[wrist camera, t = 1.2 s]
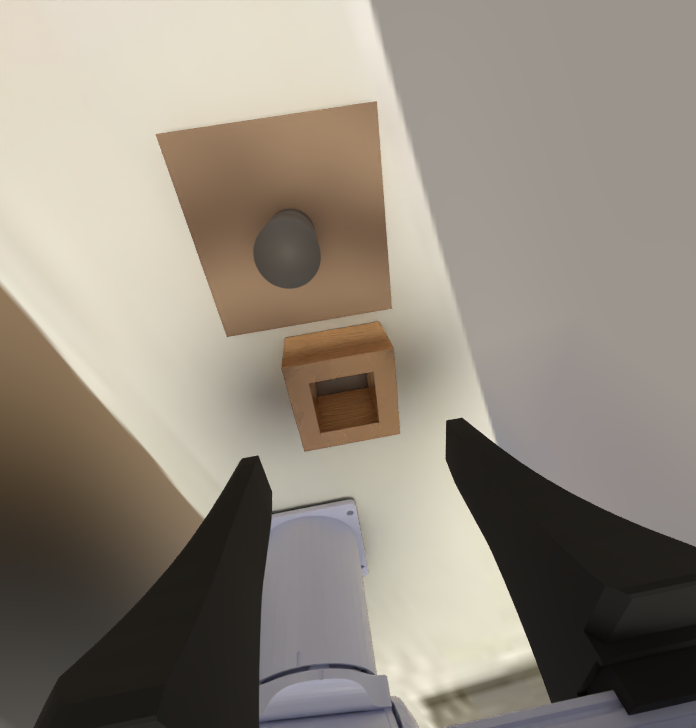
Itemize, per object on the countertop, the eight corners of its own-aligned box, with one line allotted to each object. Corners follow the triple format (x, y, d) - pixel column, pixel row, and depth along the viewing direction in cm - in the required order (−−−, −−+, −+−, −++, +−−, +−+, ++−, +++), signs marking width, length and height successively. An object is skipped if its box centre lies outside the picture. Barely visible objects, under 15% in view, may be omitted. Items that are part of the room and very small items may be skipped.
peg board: (387, 301, 17) (420, 349, 12) (231, 328, 17) (201, 388, 12) (371, 106, 13) (412, 62, 8) (165, 137, 13) (81, 110, 8)
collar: (386, 398, 20) (400, 433, 17) (304, 413, 20) (304, 451, 17) (379, 321, 17) (393, 348, 15) (284, 337, 17) (281, 368, 14)
